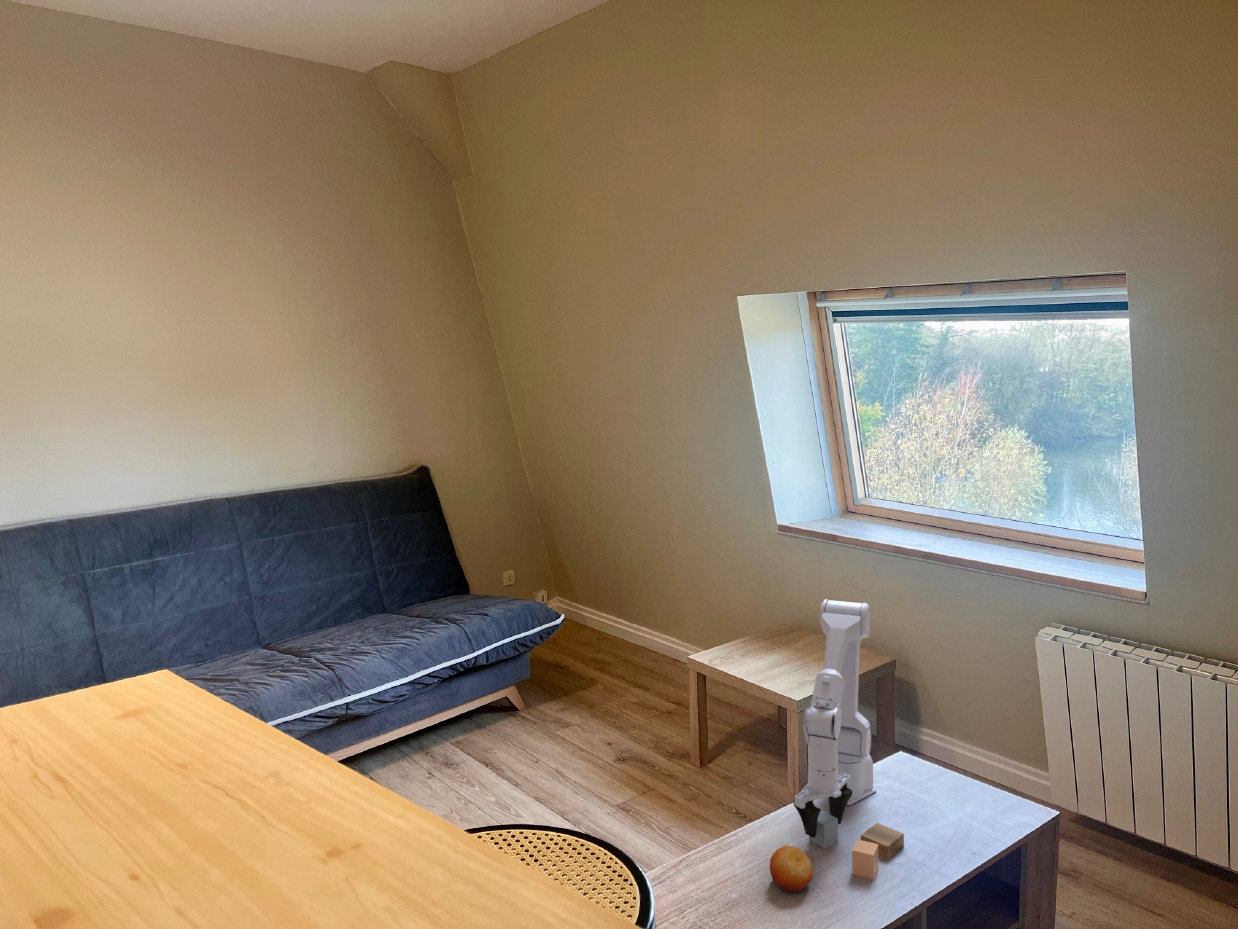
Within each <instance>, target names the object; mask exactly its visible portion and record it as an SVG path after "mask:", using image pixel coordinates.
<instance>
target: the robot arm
mask: <svg viewBox="0 0 1238 929" xmlns="http://www.w3.org/2000/svg"><path fill="white" fill-rule="evenodd" d="M871 612H872V611H871V607H870V605H869V604H868V603H867V602H853V601H842V600H831V599H827V598H825V599H824V600H823V601H822V602H821V605H820V608H819V624H820V626H821V627H822V628H821V629H822V632H823V634H824V635H825V637H826V641H825V649H824V650H825V651H824V658H823V659H824V660H823V661H824V662H823V669H822V670H821V671H820V672H818V673H817V674H816V677H815V681H814V685H813V691H812V697H811V702H810V707H807V708H806V709H805V712H804V716H803V731H804V732H803V733H804V735H805V743H806V744H807V754H808V755H807V762H808V764H807V766H808V769H807V770H808V772H807V773H808V776H807V777H808V779H807V780H808V782H807V784H805V785H804V787H803V788H802V789H801V791H800V792H799V793H798V794H796V795H794V799H793V806H794V808H795V810H796V811H797V813H798V815H799V817H800V820H801V822H802V824H803V829H804V832H805V834H806V836H808V837H809V836H810V837H812V838H814V837H816V833H817V821H818V816H819V813H820V811H822V809H821V808H819V807H817V806H816V804H815V803H814V801H817V800H821V799H827V798H828V799H827V800H828V803H829V806H828V807H829V814H830V815H832V816H834V817H836V818H838V825H840V824H842V821H843V817H844V812H845V809H846V807H847V806H851V805H853V804H855V803H857V802H859V801H860V800H863V799H865V798H866V797H868V796H870V795H872V794H874V793H875V792H877V789H876V788H875V787H874V762H873V758H872V756H871V755H870V753H871V748H872V747H871V746H872V733H871V724H870V721H869V720H868V719H867V718H865V717H864V716H863V715H862V714H861V713H860V712H859V710H858V708H859V707H858V706H859V683H860V682H859V677H860V655H861V654H860V650H861V649H860V648H861V643H862V640H863V639H868V638H869V637H870V634H871V619H872V618H871V616H872V615H871V614H872V613H871Z"/></svg>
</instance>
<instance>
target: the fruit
mask: <svg viewBox="0 0 1238 929" xmlns="http://www.w3.org/2000/svg"><path fill="white" fill-rule="evenodd" d="M769 860H770V861H769V871H770V872H769V873H770V875H771V879H772V881H770V882H769V885H771V884H773V883H774V885H776V886H777V887H778V888H779V889H781V890H783V891H786V892H789V893H791V894H795V893H798V892H801V890H803V889H804V888H805V887H807V886H808V884H810V882H811V880H813V878H814V872H813V871H814V870H813V864H812V861H811V859H810V858H809V856H808V855H807V853H805V851H804V852H803V851H802V850H801V849H800V848H798V847H797V846H796V847H794V846H791V845H783V846H781V847H779V848H777V849H776V850H775V852H774V853H772V856H771V857H770V859H769Z"/></svg>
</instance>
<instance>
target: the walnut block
mask: <svg viewBox="0 0 1238 929" xmlns="http://www.w3.org/2000/svg"><path fill="white" fill-rule="evenodd" d="M904 836H905V834H904V833H903V832H900V831H899V830H896V829H893V828H891V827H889V826H886V825H883V824H881V823H878V822H876V823H875V824H873V825H872V826H870V827H869V828H868V829H867V830H866V831H864V832H863V833H862V834H860V840H862V841H866V842H871V843H875V844H878V857H879V856H880V857H882V858H884V859H886V860H890V858H892V856H894V855H896V853H898V852H899V851H900V850H901V849H903V847H905V837H904Z"/></svg>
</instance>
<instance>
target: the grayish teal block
mask: <svg viewBox="0 0 1238 929" xmlns="http://www.w3.org/2000/svg"><path fill="white" fill-rule="evenodd" d="M808 837H809V838H808V839H809V841H810V842H812V843H813V844H815V845H817V844H818V846H819V845H820V846H819V847H821V848H823V847H824V848H825V849H827V848H829V847H830V846H832V845H834V844H836V843H837V842H838V841H839V824H838V818H836V817H834V816H832V815H830V813H828V812H826V811H824V810H821V811H820V813H819V816H818V821H817V833H816V837H814V838H812V837H810V836H808ZM835 842H836V843H835ZM833 843H834V844H833ZM831 844H832V845H831ZM829 845H830V846H829ZM826 847H827V848H826ZM824 848H823V849H824Z"/></svg>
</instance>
